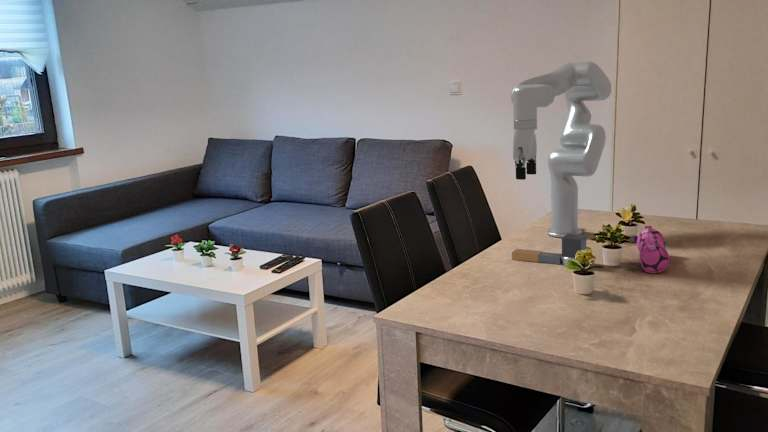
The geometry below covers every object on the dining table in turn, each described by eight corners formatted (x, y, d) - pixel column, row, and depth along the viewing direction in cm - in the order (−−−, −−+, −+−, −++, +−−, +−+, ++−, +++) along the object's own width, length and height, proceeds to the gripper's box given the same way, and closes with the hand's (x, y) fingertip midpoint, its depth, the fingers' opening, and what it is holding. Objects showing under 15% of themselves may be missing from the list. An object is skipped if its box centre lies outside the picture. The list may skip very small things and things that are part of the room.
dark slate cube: (567, 251, 213) (567, 233, 211) (586, 253, 210) (586, 235, 208) (561, 256, 208) (561, 238, 206) (581, 258, 205) (581, 240, 203)
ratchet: (510, 261, 217) (509, 240, 215) (518, 254, 223) (518, 234, 221) (583, 268, 204) (583, 247, 203) (589, 262, 210) (589, 240, 209)
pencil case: (631, 254, 216) (632, 224, 214) (663, 254, 213) (664, 224, 211) (637, 274, 196) (638, 242, 194) (672, 275, 193) (673, 242, 191)
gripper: (523, 122, 224) (524, 172, 228) (504, 128, 210) (505, 181, 214) (545, 122, 220) (545, 172, 224) (526, 128, 206) (527, 181, 210)
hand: (526, 176), depth 219 cm, fingers open, 9 cm apart
